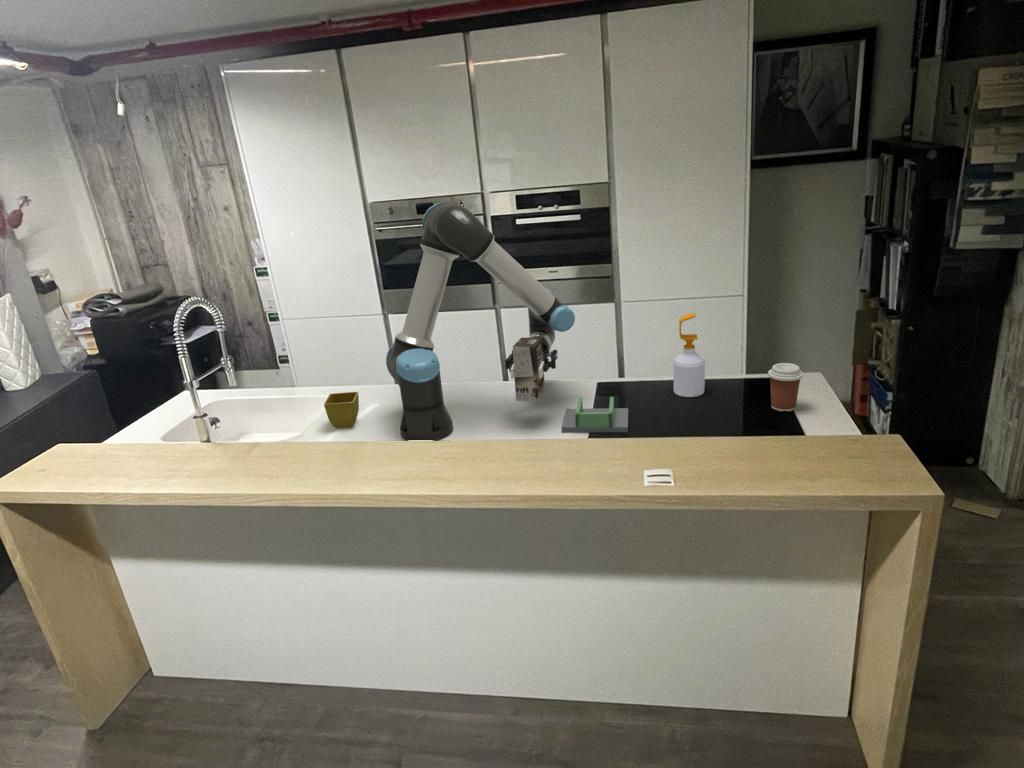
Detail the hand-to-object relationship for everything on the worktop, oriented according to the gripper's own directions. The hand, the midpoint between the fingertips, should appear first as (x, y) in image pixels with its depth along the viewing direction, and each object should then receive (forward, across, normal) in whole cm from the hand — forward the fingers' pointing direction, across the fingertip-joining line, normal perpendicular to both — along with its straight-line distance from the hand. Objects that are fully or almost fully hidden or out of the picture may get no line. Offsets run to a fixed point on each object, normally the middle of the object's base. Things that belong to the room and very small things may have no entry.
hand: (526, 373), depth 184 cm
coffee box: (-5, 0, -9) cm, 10 cm away
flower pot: (-4, +57, -18) cm, 60 cm away
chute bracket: (-5, -18, -17) cm, 25 cm away
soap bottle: (-27, -45, -16) cm, 55 cm away
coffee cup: (-15, -70, -16) cm, 74 cm away
